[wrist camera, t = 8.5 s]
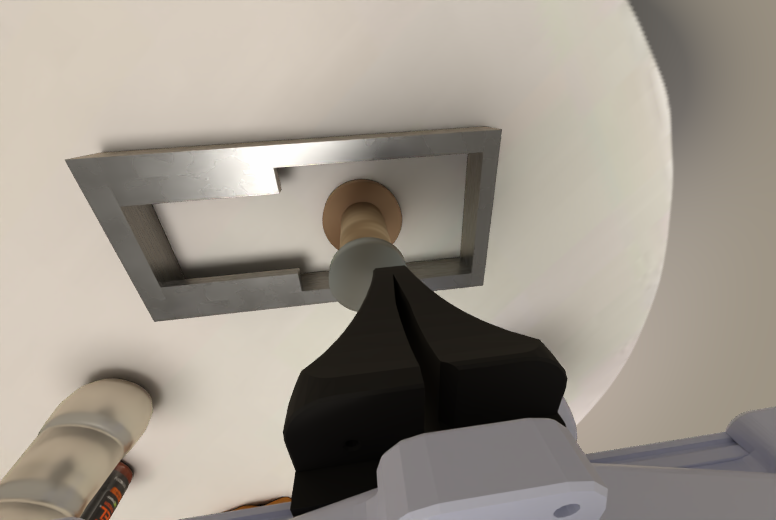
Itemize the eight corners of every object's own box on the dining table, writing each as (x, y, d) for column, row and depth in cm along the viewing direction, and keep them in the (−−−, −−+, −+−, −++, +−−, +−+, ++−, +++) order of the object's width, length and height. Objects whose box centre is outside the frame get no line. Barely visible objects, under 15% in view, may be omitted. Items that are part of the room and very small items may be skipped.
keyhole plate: (484, 126, 20) (501, 129, 17) (470, 268, 25) (483, 285, 23) (101, 152, 18) (64, 159, 16) (173, 300, 23) (154, 321, 21)
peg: (401, 178, 21) (432, 223, 13) (398, 250, 23) (422, 322, 16) (320, 179, 20) (301, 227, 12) (326, 252, 23) (314, 330, 15)
